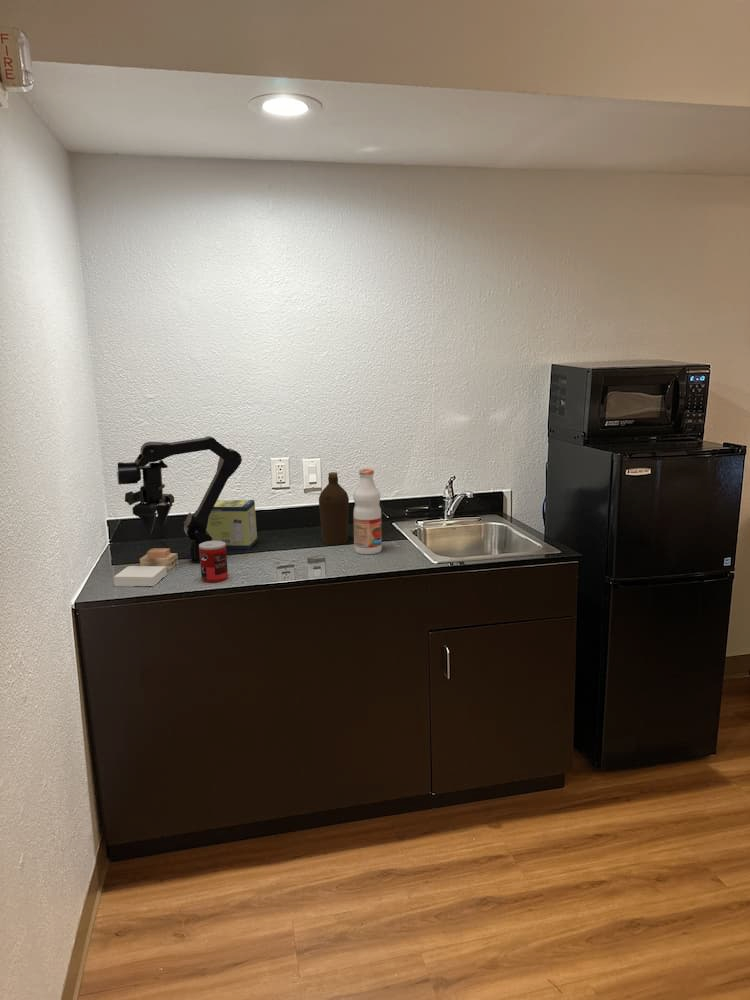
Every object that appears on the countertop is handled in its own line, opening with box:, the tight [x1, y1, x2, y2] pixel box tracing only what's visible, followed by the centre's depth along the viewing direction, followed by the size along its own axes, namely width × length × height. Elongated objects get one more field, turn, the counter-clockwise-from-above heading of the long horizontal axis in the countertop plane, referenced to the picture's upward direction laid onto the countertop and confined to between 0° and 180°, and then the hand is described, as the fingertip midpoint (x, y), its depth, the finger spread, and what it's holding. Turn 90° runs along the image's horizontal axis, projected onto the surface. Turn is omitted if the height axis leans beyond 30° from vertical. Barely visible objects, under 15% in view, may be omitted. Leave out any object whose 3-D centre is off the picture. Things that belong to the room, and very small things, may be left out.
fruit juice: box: [352, 468, 383, 555], centre depth 230 cm, size 9×9×28 cm
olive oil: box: [318, 471, 350, 546], centre depth 242 cm, size 11×11×25 cm
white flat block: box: [113, 565, 168, 587], centre depth 207 cm, size 12×10×3 cm
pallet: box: [139, 552, 179, 570], centre depth 220 cm, size 10×6×4 cm, turn 85°
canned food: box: [199, 541, 229, 583], centre depth 207 cm, size 8×8×11 cm
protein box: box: [206, 499, 258, 551], centre depth 241 cm, size 10×16×16 cm
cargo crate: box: [146, 547, 171, 558], centre depth 220 cm, size 6×4×2 cm, turn 85°
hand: (155, 530), depth 218 cm, fingers open, 9 cm apart
